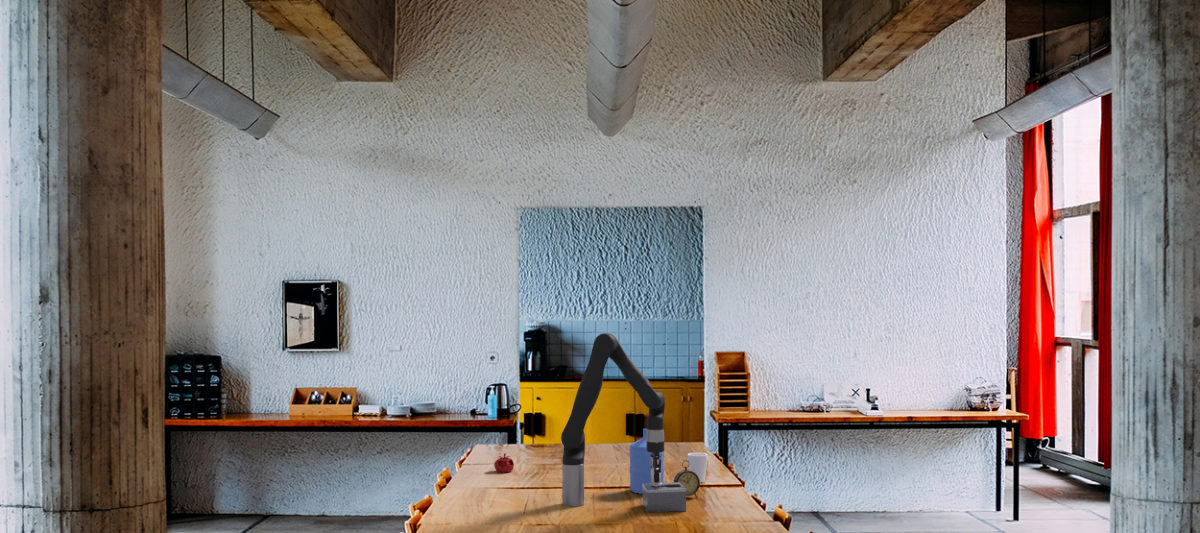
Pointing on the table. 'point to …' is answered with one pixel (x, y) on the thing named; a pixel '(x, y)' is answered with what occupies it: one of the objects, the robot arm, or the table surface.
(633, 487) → the water jug
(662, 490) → the keyhole stand
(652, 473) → the peg
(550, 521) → the table surface
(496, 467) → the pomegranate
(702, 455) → the foam cup
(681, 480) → the alarm clock
